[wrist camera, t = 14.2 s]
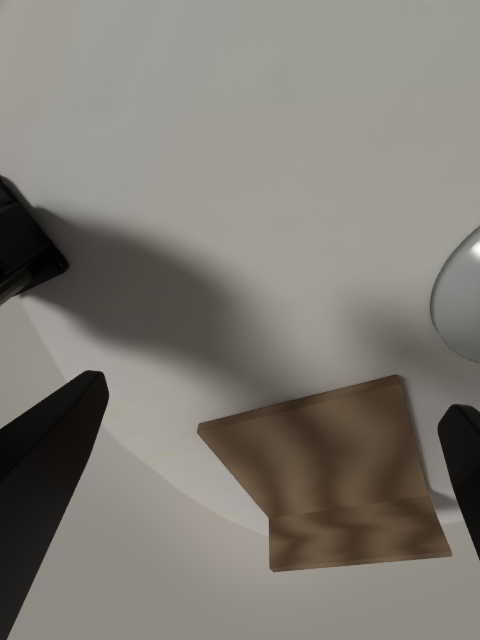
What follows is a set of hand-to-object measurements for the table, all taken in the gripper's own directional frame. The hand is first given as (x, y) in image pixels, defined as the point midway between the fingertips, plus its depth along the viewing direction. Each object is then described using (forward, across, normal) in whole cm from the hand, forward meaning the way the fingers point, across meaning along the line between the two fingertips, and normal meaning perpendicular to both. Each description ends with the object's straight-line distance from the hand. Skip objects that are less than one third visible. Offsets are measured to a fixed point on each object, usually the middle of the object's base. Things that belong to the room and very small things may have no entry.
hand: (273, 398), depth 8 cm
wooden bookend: (+13, -8, +23) cm, 28 cm away
